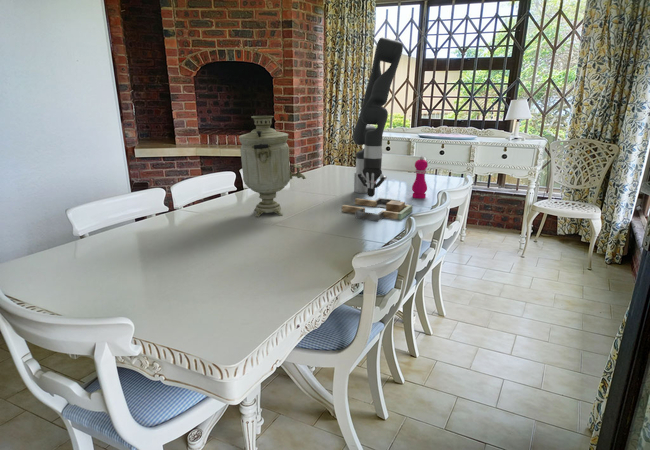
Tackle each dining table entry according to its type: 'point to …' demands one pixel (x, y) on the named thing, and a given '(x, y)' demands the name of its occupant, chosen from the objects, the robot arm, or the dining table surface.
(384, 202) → the wooden strip frame
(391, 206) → the walnut block
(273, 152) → the samovar
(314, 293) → the dining table surface
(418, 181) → the pepper mill
